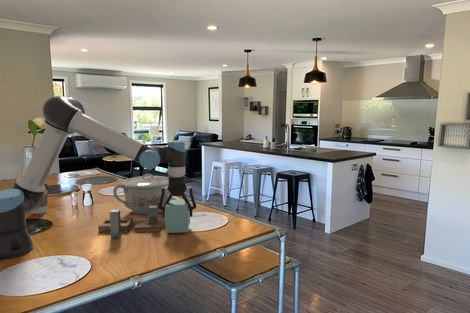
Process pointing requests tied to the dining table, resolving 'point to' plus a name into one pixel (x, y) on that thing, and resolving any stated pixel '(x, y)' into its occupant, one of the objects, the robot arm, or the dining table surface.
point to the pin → (115, 224)
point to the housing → (176, 216)
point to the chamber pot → (143, 192)
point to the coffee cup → (44, 205)
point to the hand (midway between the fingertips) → (177, 223)
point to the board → (148, 227)
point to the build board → (125, 225)
